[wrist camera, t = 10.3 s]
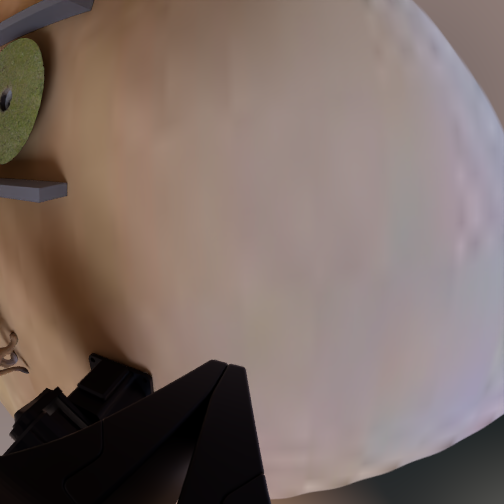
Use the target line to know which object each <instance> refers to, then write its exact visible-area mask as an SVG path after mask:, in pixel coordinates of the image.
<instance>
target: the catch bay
mask: <svg viewBox="0 0 504 504" xmlns="http://www.w3.org/2000/svg"><path fill="white" fill-rule="evenodd" d="M93 1H94V0H43V1H41V2H39V3H36V4H34V5H32V6H30V7H28V8H27V9H25V10H23V11H21V12H19V13H17V14H15V15H13V16H12V17H10V18H8V19H6V20H5V21H3V22H1V23H0V46H2V45H4V44H6V43H8V42H10V41H12V40H14V39H17V38H19V37H21V36H23V35H25V34H28V33H30V32H32V31H35V30H37V29H39V28H42V27H44V26H47V25H49V24H52V23H55V22H57V21H60V20H63V19H66V18H69V17H71V16H74V15H78V14H81V13H84V12H87V11H90V10H91V8H92V5H93ZM64 196H67V183H63V182H51V181H38V180H24V179H8V178H0V197H4V198H11V199H18V200H25V201H31V202H38V203H40V202H44V201H48V200H52V199H56V198H60V197H64Z"/></svg>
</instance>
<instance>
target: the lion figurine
mask: <svg viewBox="0 0 504 504" xmlns="http://www.w3.org/2000/svg"><path fill="white" fill-rule="evenodd" d="M10 338H11V342H10V344H9V345H8V346H7V347H3V348H0V366H2V367H4V368H7V369H3V370H0V376H1V375H4V374H7V373H9V372H12V371H21V372H24V373H28V374H29V372H28V370H27V369H26V368H25V367H20V366H17V367H11V368H8V367H10V366H12V365H14V364H16V363H17V361H18V359H17V356H16V355H15V353H13V352H12V351H13V349H14V347H15V345H16V344H17V341H18V339H17V336H16V335H15V333H11V334H10ZM8 354H10V356H11V359H10V360H6V359H4V356H6V355H8Z"/></svg>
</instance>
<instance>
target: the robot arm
mask: <svg viewBox="0 0 504 504" xmlns="http://www.w3.org/2000/svg"><path fill="white" fill-rule="evenodd" d="M89 362H90V367H91V371H90V372H89V373H88V374H87V375H86V376H85V377H84V378H83V379H82V380H81V381H80V382H79V383H78V384H77V386H78V387H77V388H76V389H75V390H74V391H73V392H72V393H71V394H70V395H69V396H68V397H66V396H65V395H64V394H63V393H62V390H61V389H60V388H59V387H57V388H55V389H54V390H50V389H48V388H46V389H45V390H44V391H43V392H42V393H41V394H40V395H39V396H37V397H36V398H35V399H34V400H33V401H31V402H30V403H28V404H27V405H25V406H24V407H22V408H21V409H20V410H18V411H17V412H16V413H15V414H14V418H15V424H14V425H13V430H12V431H11V432H10V434H9V435H10V436H11V437H12V438H13V439H14V440H15V442H14V443H13V444H12V445H11V446H10V448H9V449H8V450H7V451H6V452H5V453H4V454H3V456H0V504H176V502H177V500H178V502H177V504H271V501H270V497H269V493H268V489H267V484H266V479H265V475H263V474H264V469H263V464H262V459H261V453H260V448H259V442H258V437H257V431H256V426H255V420H254V415H253V409H252V403H251V397H250V392H249V386H248V380H247V374H246V369H245V368H244V367H242V366H238V365H233V364H229V365H228V364H227V363H225V362H221V361H217V360H210V361H208V362H206V363H205V364H203V365H201V366H200V367H198V368H196V369H194V370H193V371H191V372H189V373H188V374H186V375H184V376H182V377H181V378H179V379H177V380H175V381H174V382H172V383H170V384H168V385H166V386H165V387H163V388H161V389H159V390H157V391H156V392H154V393H153V382H152V377H151V376H150V375H149V374H147V373H144V372H141V371H139V370H136V369H133V368H130V367H128V366H125V365H122V364H120V363H117V362H114V361H112V360H109V359H107V358H104V357H102V356H99V355H97V354H95V353H92V354H91V355H90V356H89Z"/></svg>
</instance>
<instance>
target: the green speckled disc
mask: <svg viewBox="0 0 504 504" xmlns="http://www.w3.org/2000/svg"><path fill="white" fill-rule="evenodd" d="M41 55H42V54H41V52H40V50H39V47H38V46H37V43H35V42H34V41H33V40H31V39H29V38H21V39H18V40H16V41H13V42H11V43H10V44H9V45H7V46H6V47H5V48H4V49H3V50H2V52H1V53H0V164H6V163H7V162H9V161H11V160H12V159H13V158H14V157H15V156H16V155H17V154H18V153H19V151H20V150H21V149H22V147H23V145H24V144H25V143H26V140H28V136H29V135H30V132H31V131H32V128H33V125H34V122H35V120H36V117H37V114H38V110H39V107H40V102H41V98H42V92H43V87H44V86H43V84H44V67H43V59H42V57H41Z"/></svg>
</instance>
